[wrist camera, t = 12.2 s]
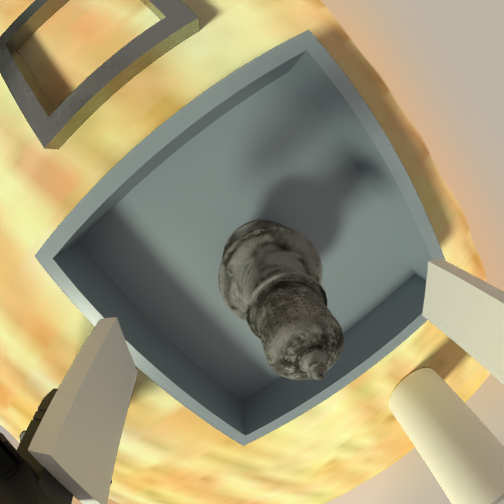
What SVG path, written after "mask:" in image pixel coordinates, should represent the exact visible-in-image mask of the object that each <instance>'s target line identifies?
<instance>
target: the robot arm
mask: <svg viewBox="0 0 504 504" xmlns="http://www.w3.org/2000/svg"><path fill="white" fill-rule="evenodd" d="M422 316H424V317H425V318H426V319H427V320H429V321H430V322H431V323H432V324H434V325H435V326H436V327H437V328H438V329H440V330H441V331H442V332H443V333H444V334H446V335H447V336H448V337H449V338H450V339H452V340H453V341H454V342H455V343H456V344H458V345H459V346H460V347H461V348H462V349H463V350H465V351H466V352H467V353H468V354H469V355H470V356H472V357H473V358H474V359H475V360H476V361H477V362H479V363H480V364H481V365H482V366H483V367H484V368H485V369H486V370H488V371H489V372H490V373H491V374H492V375H493V376H494V377H496V378H497V379H498V380H499V381H500V382H501V383H502V384H503V385H504V292H503V291H501V290H499V289H497V288H496V287H494V286H492V285H490V284H488V283H487V282H485V281H483V280H481V279H479V278H477V277H475V276H473V275H472V274H470V273H468V272H466V271H464V270H462V269H460V268H458V267H456V266H454V265H452V264H450V263H448V262H446V261H444V260H442V259H440V258H439V259H435V260H431V261H428V270H427V280H426V289H425V298H424V305H423V312H422ZM137 375H138V371H137V369H136V366H135V364H134V361H133V359H132V356H131V354H130V351H129V349H128V346H127V344H126V341H125V338H124V336H123V333H122V330H121V327H120V325H119V322H118V319H117V317H112V318H103V319H100V320H99V321H98V323H97V324H96V326H95V327H94V329H93V331H92V332H91V334H90V335H89V337H88V339H87V340H86V342H85V343H84V345H83V347H82V348H81V350H80V352H79V353H78V355H77V357H76V358H75V360H74V362H73V363H72V365H71V367H70V369H69V370H68V372H67V374H66V376H65V377H64V379H63V381H62V383H61V385H60V386H59V388H58V389H53V390H52V391H51V392H49V393H48V394H47V395H46V396H45V397H44V398H43V400H42V402H41V404H40V406H39V407H38V411H36V413H35V415H34V417H33V420H31V422H30V424H29V426H28V428H27V430H26V432H25V434H24V436H23V438H22V440H21V442H20V444H19V447H18V449H17V450H16V449H15V448H14V447H13V446H12V445H11V444H10V442H9V441H8V440H7V439H6V437H5V436H4V435H3V434H2V433H0V504H72V503H71V502H72V498H73V496H74V497H76V498H77V499H78V500H79V501H80V502H82V503H83V504H107V500H108V495H109V489H110V484H111V479H112V474H113V470H114V465H115V460H116V456H117V451H118V447H119V443H120V439H121V434H122V430H123V426H124V422H125V419H126V415H127V411H128V407H129V403H130V400H131V396H132V392H133V389H134V385H135V382H136V378H137Z"/></svg>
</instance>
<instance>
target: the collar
mask: <svg viewBox="0 0 504 504" xmlns="http://www.w3.org/2000/svg"><path fill="white" fill-rule="evenodd" d="M68 1H69V0H35V1H34V2H33V3H32V4H31V5H30V6H29V7H28V8H27V9H26V10H25V11H24V12H23V13H22V14H21V15H20V16H19V17H18V18H17V19H16V20H15V21H14V22H13V23H12V24H11V25H10V26H9V28H8V29H7V30H6V31H5V32H4V33H3V34H2V35H1V37H0V73H1V75H2V77H3V79H4V81H5V83H6V85H7V86H8V88H9V90H10V92H11V94H12V96H13V97H14V99H15V101H16V103H17V104H18V106H19V108H20V110H21V111H22V113H23V115H24V116H25V118H26V120H27V121H28V123H29V125H30V126H31V128H32V130H33V131H34V133H35V134H36V136H37V137H38V139H39V141H40V142H41V144H42V145H43V147H44V148H46V149H59V148H60V147H61V146H62V145H63V144H64V142H65V141H66V140H67V139H68V138H69V137H70V136H71V135H72V134H73V133H74V132H75V131H76V130H77V129H78V127H79V126H80V125H81V124H82V123H83V122H84V121H85V120H86V119H87V118H88V117H89V116H90V115H91V114H92V113H93V112H95V111H96V110H97V109H98V108H99V107H100V106H101V105H102V104H103V103H104V102H105V101H106V100H107V99H108V98H110V97H111V96H112V95H113V94H114V93H115V92H116V91H118V90H119V89H120V88H121V87H122V86H123V85H125V84H126V83H127V82H128V81H129V80H131V79H132V78H133V77H134V76H135V75H137V74H138V73H139V72H141V71H142V70H143V69H144V68H146V67H147V66H148V65H150V64H151V63H152V62H154V61H155V60H156V59H158V58H159V57H160V56H162V55H163V54H165V53H166V52H167V51H169V50H170V49H172V48H173V47H175V46H176V45H178V44H179V43H181V42H182V41H184V40H185V39H187V38H188V37H190V36H192V35H193V34H195V33H196V32H198V31H200V27H199V18H198V17H197V16H196V15H195V14H194V13H193V12H192V11H191V10H190V9H189V8H188V7H187V6H186V5H185V4H184V3H183V2H181V1H180V0H141V1H142V2H143V3H144V4H145V5H146V6H147V7H148V8H149V9H150V10H151V11H152V12H153V13H154V14H155V15H156V16H158V17H159V18H160V19H161V21H159V22H158V23H156V24H155V25H153V26H152V27H150V28H149V29H147V30H146V31H144V32H143V33H142V34H140V35H139V36H138V37H136V38H135V39H133V40H132V41H131V42H129V43H128V44H127V45H126V46H124V47H123V48H122V49H120V50H119V51H118V52H117V53H115V54H114V55H113V56H112V57H111V58H109V59H108V60H107V61H106V62H105V63H103V64H102V65H101V66H100V67H99V68H98V69H97V70H95V71H94V72H93V73H92V74H91V75H90V76H89V77H88V78H87V79H86V80H85V81H83V82H82V83H81V84H80V85H79V86H78V87H77V88H76V89H75V90H74V91H73V92H72V93H71V94H70V95H69V96H68V97H67V98H66V99H65V100H64V101H63V102H62V104H61V105H60V106H59V107H58V108H57V109H56V110H54V108H53V107H52V105H51V104H50V102H49V101H48V99H47V98H46V96H45V95H44V93H43V91H42V90H41V88H40V87H39V85H38V84H37V82H36V81H35V79H34V77H33V76H32V74H31V73H30V71H29V69H28V68H27V66H26V64H25V63H24V61H23V59H22V58H21V56H20V54H19V53H18V51H17V50H18V49H19V48H20V47H21V45H22V44H23V43H24V42H25V41H26V40H27V39H28V38H29V37H30V36H31V35H32V34H33V33H34V32H35V31H36V30H37V29H38V28H39V27H40V26H41V25H42V24H43V23H44V22H45V21H46V20H47V19H48V18H49V17H50V16H52V15H53V14H54V13H55V12H56V11H57V10H58V9H59V8H61V7H62V6H63V5H64V4H65V3H66V2H68Z"/></svg>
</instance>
